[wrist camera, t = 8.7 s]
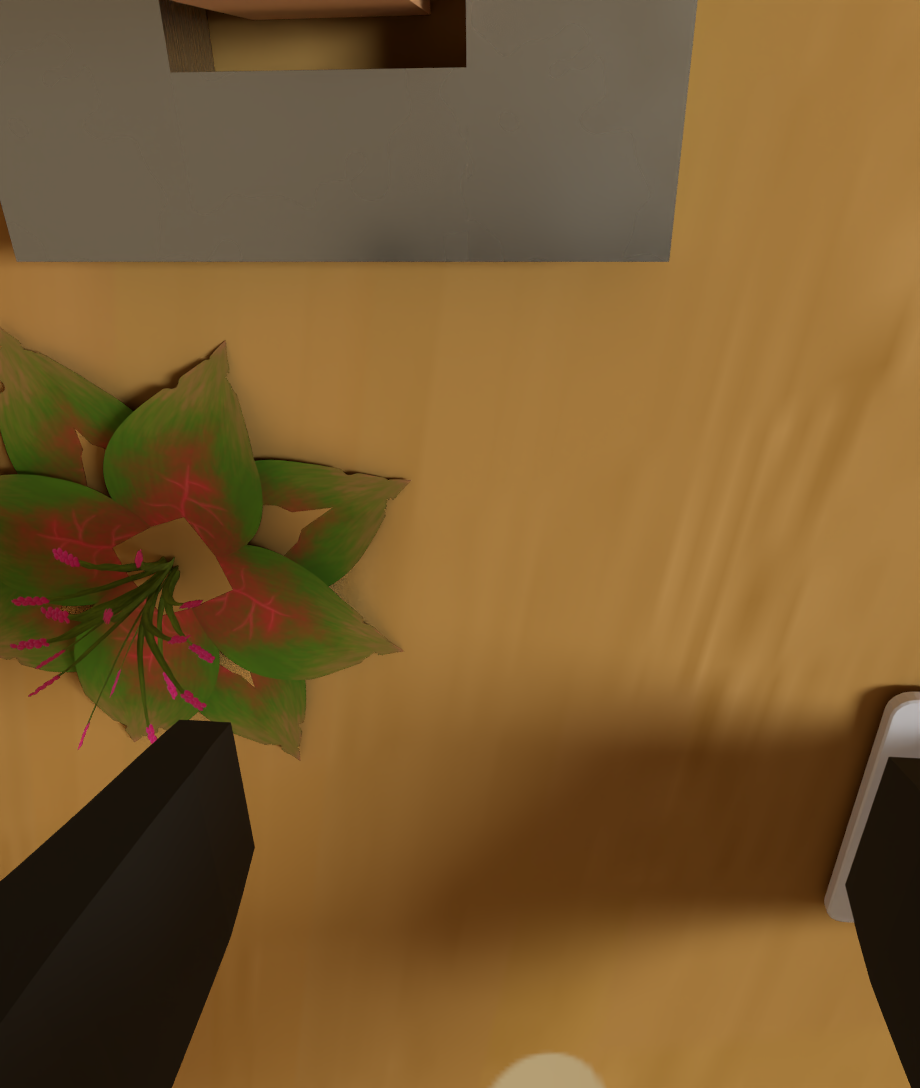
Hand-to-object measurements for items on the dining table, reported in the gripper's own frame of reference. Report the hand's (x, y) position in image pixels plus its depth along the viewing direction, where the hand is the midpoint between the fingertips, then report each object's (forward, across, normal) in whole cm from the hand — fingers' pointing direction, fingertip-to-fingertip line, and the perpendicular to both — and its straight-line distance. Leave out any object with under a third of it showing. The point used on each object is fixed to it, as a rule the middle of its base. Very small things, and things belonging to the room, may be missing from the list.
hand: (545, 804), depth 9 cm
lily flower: (+10, +9, +3) cm, 13 cm away
